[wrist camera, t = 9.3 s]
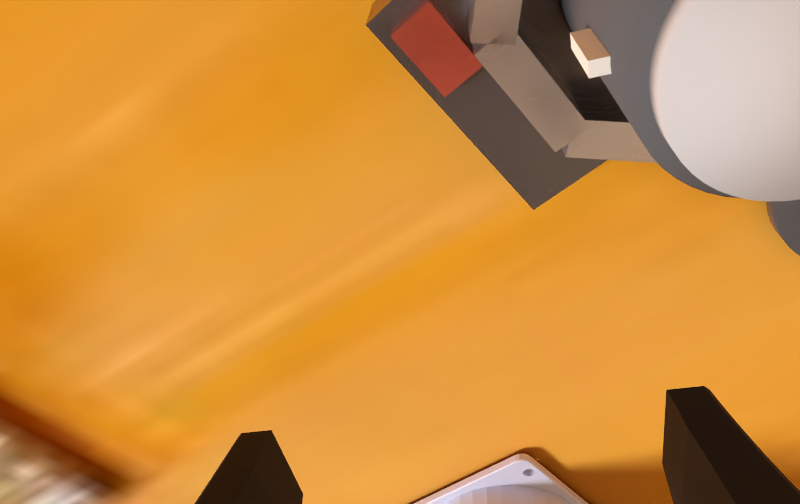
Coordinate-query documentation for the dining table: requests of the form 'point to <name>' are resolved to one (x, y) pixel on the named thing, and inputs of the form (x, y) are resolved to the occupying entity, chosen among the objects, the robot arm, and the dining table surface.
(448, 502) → the robot arm
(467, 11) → the grey octagonal container
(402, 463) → the dining table surface
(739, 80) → the lens
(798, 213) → the lens cap
